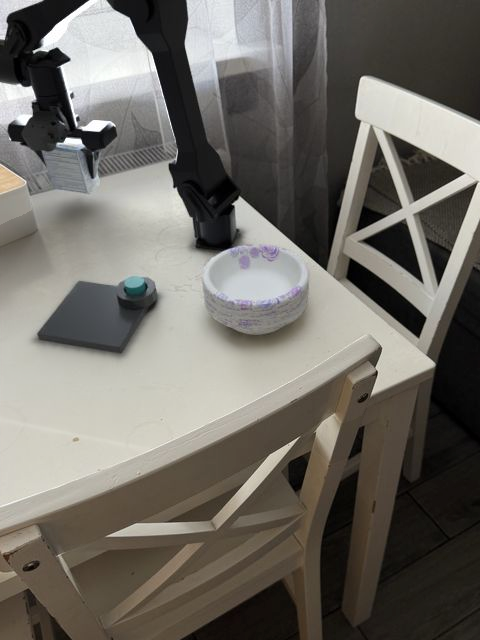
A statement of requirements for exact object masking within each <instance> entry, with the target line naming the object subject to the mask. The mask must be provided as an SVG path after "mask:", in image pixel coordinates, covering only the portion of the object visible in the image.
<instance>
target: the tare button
mask: <svg viewBox="0 0 480 640" xmlns="http://www.w3.org/2000/svg"><path fill="white" fill-rule="evenodd" d="M140 276H141V275H133V276H129V277H128V278H126V279H124V280H125V282H124V285H125V289H126V293H127V294H128V295H132V296H135V295H140V294H142V293H144V292H145V290H146V286H145V281H144V279H143V278H142V277H143V276H141V277H140Z"/></svg>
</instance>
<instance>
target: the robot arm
mask: <svg viewBox="0 0 480 640" xmlns="http://www.w3.org/2000/svg"><path fill="white" fill-rule="evenodd" d="M97 1H98V0H41V1H39V2H36V3H33V4H31V5H28V6H25V7H22V8H19V9H17V10H14V11H12V12H10V13H9V14H8V15H7V16H6V20H5V22H6V25H7V27H6V31H5V37H4V38H3V39H1V38H0V83H2V84H7V85H11V86H17V87H22V88H30V87H31V89H32V92H33V96H34V99H33V100H32V101H31V110H32V114H20V115H19V116H18V117H16V118H15V119H14V120H12V121H11V122H9V123H8V125H7V129H6V132H7V135H8V138H9V141H10V142H15V143H19V145H20V146H22V147H26V148H28V149H29V150H31V151H33V152H34V153H35V154H36V155H37V157H38V158H39V160H40V161H41V162H42V164H43V165H44V166H45V167H46V163H45V160H44V157H43V154H42V150H43V151H46V152H51V151H53V150H54V149H55V148H56V144H57V143H64V141H65V139H66V138H72V139H80V140H81V141H82V144H83V145H84V146H83V147H82V148H81V149H80V150H81V151H82V152H83V153H84V154H85V156H86V160H87V164H88V169H89V173H90V175H91V178H92V179H94V178H95V177H96V175H97V173H98V170H99V164H100V159H101V154H102V151H103V150H104V149H106V148H107V147H108V146H110V144H111V143H112V142H113V141H114V140H115V139H116V138H117V137H118V133H117V132H118V131H117V128H116V125H115V124H114V123H113V122H112V121H110V120H98V119H97V120H96V119H93V120H91V121H90V122H89V123H88V124H87V125H86V126H79V125H78V123H79V122H81V118H80V115H79V114H75V111H74V107H73V103H72V102H73V101H72V100H73V99H74V98H75V93H74V91H73V90H69V86H68V83H67V82H68V81H67V78H66V75H65V70H64V67H63V66H65V65H68V64H69V63H71V62H72V58H71V57H70V56H69V55H68V54H67V53H66V52H63V51H62V50H61V49H60V47H58V46H56V47H53V48H52V49H49V50H45V49H41V48H44V47H46V46H48V45H51V44H54V43H55V42H58V41H59V40H60V39H61V37H62V36H63V35H64V33H65V32H66V31H67V28H68V24H69V23H70V21H71V20H72V19H74V18H75V17H77V16H78V15H79V14H81V13H82V12H84V11H85V10H86V9H88V8H89V7H90V6H92V5H93V4H94V3H96V2H97ZM105 1H106V2H107V3H108V4H109V6H110V7H111V9H112V10H113V11H115V12H117V13H119V14H121V15H123V16H125V17H126V18H128V19H129V21H130V23H131V27H132V28H133V31H134V34H135V35H136V37H137V39H139V40H140V42H141V43H142V44H143V45H144V46H145V48H146V49H147V50H148V51H149V52H150V54H151V57H152V61H153V64H154V68H155V72H156V76H157V79H158V83H159V86H160V90H161V95H162V97H163V101H164V105H165V109H166V113H167V116H168V120H169V124H170V127H171V130H172V134H173V138H174V142H175V145H176V146H175V147H176V148H177V149H176V157H175V158H174V159H172V161H170V162H169V163H168V164H167V165H168V172H169V174H170V176H171V179H172V188H173V189H176V192H177V195H178V196H179V197H180V199H181V200H182V203H183V205H184V207H185V210H186V211H187V214H188V216H189V218H192V219H191V220H192V226H193V228H192V229H193V233H194V238H195V239H196V240H195V241H194V244H193V245H194V247H195V248H199V249H208V250H215V251H222V252H223V251H225V250H228V249H231V248H233V246H234V244H235V243H236V241H237V239H238V237H239V235H240V233H241V229H239V228H237V218H236V205H235V204H234V203H236V202H237V201H239V199H240V196H241V193H242V190H241V188H240V187H239V186H238V184H236V182H235V181H234V180H233V179H232V177H231V176H230V174H228V173H227V172H226V169H225V166H224V164H223V161H222V158H221V156H220V154H219V153H218V152H217V151H216V149H215V148H214V147H213V146H212V144H210V143H209V141H208V138H207V133H206V129H205V125H204V120H203V116H202V112H201V108H200V104H199V100H198V95H197V92H196V86H195V82H194V78H193V75H192V70H191V66H190V62H189V61H190V60H189V58H188V57H189V56H188V53H187V49H186V39H187V38H186V37H187V31H188V25H189V24H188V23H189V12H188V11H189V10H188V1H187V0H105ZM39 49H40V50H39ZM36 50H37V51H36ZM34 51H35V52H34Z"/></svg>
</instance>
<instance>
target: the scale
mask: <svg viewBox="0 0 480 640" xmlns="http://www.w3.org/2000/svg"><path fill="white" fill-rule="evenodd" d="M139 276H140V277H142V278H143V279H144V281H145V286H146V290H145V292H144V293H142V294H140V295H135V296H132V295H128V294H127V293H126V289H125V285H124V282H125V280H126V279H124V280H122V281H120V282H119V283H118V285H112V284H107V283H98V282H91V281H85V280H78V281H77V282H76V283H75V284H74V286H73V287H72V288H71V290H70V291H69V292H68V294H66V296H65V297H64V299H63V300H62V301H61V302H60V304H59V305H58V306H57V308H56V309H55V310H54V311H53V312H52V314H51V315H50V317H49V318H48V319H47V320H46V322H45V323H44V324H43V325H42V327H40V329H39V330H38V331H37V333H36V335H37V337H38V340H41V341H46V342H52V343H58V344H64V345H71V346H76V347H81V348H88V349H92V350H93V349H94V350H100V351H105V352H111V353H116V354H122V353H123V351H124V350H125V348H126V347H127V344H128V343H129V342H130V340H131V338H132V337H133V335H134V333H135V332H136V330H137V329H138V327H139V325H140V324H141V322H142V321H143V319H144V318H145V315H146V314H147V312H148V311H149V309H150V308H151V306H152V305H153V304H154V303H155V301H156V300H157V298H158V291H157V286H156V282H155V281H154V280H152V279H151V278H150V277H148V276H141V275H139Z"/></svg>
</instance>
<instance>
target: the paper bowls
mask: <svg viewBox="0 0 480 640" xmlns="http://www.w3.org/2000/svg"><path fill="white" fill-rule="evenodd" d="M309 270H310V269H309V267H308V265H307V264H306V262H305V261H304V260H303V259H302V258H301V256H299V255H298V254H296V253H295V252H293V251H291V250H289V249H287V248H284V247H281V246H277V245H272V244H262V243H257V244H255V243H253V244H252V243H251V244H242V245H237V246H234V247H232V248H231V249H228V250H225V251H223V250H222V251H221V252H218V253H217V254H216V255H214V256H213V257H212V258H210V259H209V261H208V262H207V263H206V265H205V266H204V268H203V270H202V274H201V283H202V292H203V300H204V305H205V309H206V311H207V313H208V314H209V315H210V316H211V317H212V318H213V319H214V320H215V321H217V322H218V323H220V324H222V325H224V326H226V327H228V328H231V329H233V330H235V331H237V332H238V333H242V334H245V335H246V334H247V335H258V336H259V335H265V334H270V333H273V332H277V331H279V330H281V328H283V327H285V326H286V325H289V324H291V323H293V322H295V321H296V320H298V319H299V318H300V316H301V315H303V313H304V312H305V310H306V309H307V306H308V303H309V295H310V293H309V292H310V271H309Z"/></svg>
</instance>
